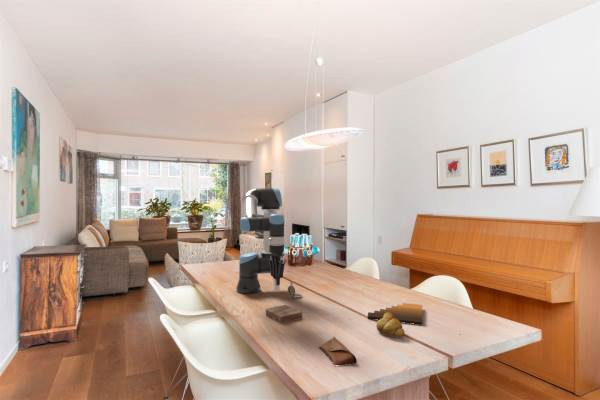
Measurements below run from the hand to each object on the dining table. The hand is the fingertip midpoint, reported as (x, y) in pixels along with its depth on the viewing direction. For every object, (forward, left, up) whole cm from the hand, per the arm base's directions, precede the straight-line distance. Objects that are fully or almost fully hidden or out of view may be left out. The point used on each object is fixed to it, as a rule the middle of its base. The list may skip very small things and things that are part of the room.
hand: (276, 290), depth 176 cm
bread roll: (+52, +24, -12) cm, 59 cm away
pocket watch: (-17, +24, -12) cm, 32 cm away
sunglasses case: (+52, -8, -12) cm, 54 cm away
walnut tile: (-1, 0, -10) cm, 10 cm away
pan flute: (+37, +48, -12) cm, 62 cm away
